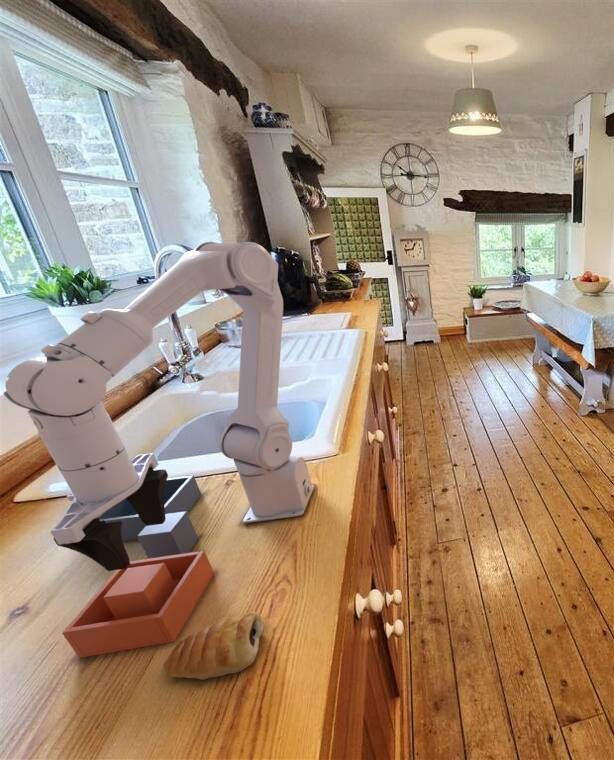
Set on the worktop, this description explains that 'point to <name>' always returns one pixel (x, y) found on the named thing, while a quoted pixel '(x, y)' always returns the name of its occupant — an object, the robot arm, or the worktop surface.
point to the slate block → (169, 536)
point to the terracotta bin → (106, 634)
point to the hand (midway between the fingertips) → (138, 544)
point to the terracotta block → (140, 591)
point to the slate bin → (176, 499)
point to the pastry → (217, 648)
